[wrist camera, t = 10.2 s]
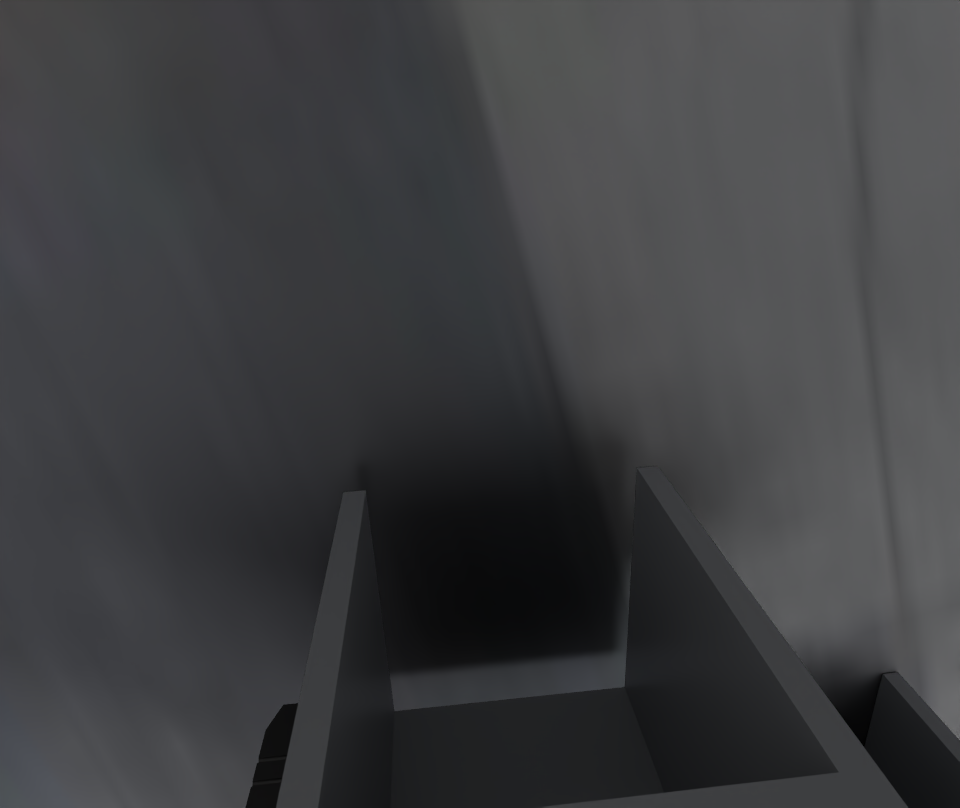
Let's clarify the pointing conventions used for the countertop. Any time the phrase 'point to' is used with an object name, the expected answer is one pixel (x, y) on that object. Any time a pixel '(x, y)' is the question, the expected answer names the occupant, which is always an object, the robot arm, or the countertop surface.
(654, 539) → the cube hood
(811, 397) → the countertop surface
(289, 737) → the robot arm
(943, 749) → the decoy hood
